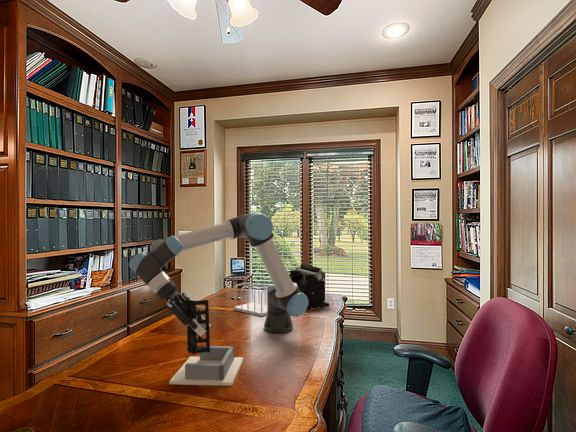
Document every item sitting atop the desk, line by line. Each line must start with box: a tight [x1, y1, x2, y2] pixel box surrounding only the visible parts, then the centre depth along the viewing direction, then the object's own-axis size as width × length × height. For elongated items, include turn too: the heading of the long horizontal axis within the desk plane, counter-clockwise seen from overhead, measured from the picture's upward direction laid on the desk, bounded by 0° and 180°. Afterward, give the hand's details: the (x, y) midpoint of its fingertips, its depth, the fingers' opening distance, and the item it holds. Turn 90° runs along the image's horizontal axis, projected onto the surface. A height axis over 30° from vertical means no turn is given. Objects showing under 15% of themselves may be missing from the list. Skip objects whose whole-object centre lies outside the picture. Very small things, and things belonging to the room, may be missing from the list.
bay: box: [168, 345, 245, 387], centre depth 119 cm, size 22×20×6 cm
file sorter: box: [233, 281, 270, 317], centre depth 200 cm, size 25×17×16 cm
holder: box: [186, 296, 211, 355], centre depth 120 cm, size 11×8×20 cm
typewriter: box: [288, 263, 330, 310], centre depth 215 cm, size 31×27×25 cm
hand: (205, 330), depth 118 cm, fingers closed on holder, 5 cm apart
